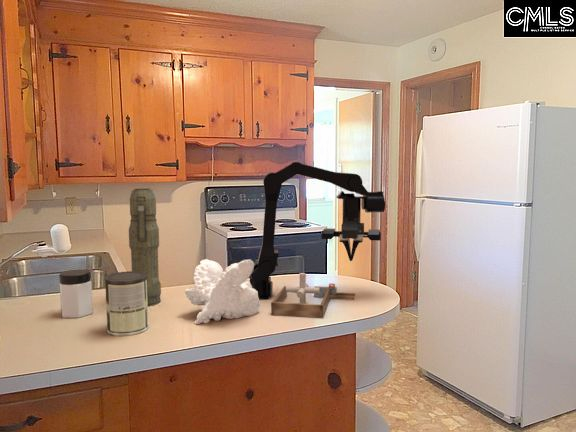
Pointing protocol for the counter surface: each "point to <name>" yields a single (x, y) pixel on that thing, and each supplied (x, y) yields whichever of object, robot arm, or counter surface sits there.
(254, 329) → the counter surface
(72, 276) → the jar
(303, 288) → the pipe connector
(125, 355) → the counter surface
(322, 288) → the pin
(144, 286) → the coffee can
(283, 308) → the dock cradle
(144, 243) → the thermos
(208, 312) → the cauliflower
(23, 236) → the counter surface
